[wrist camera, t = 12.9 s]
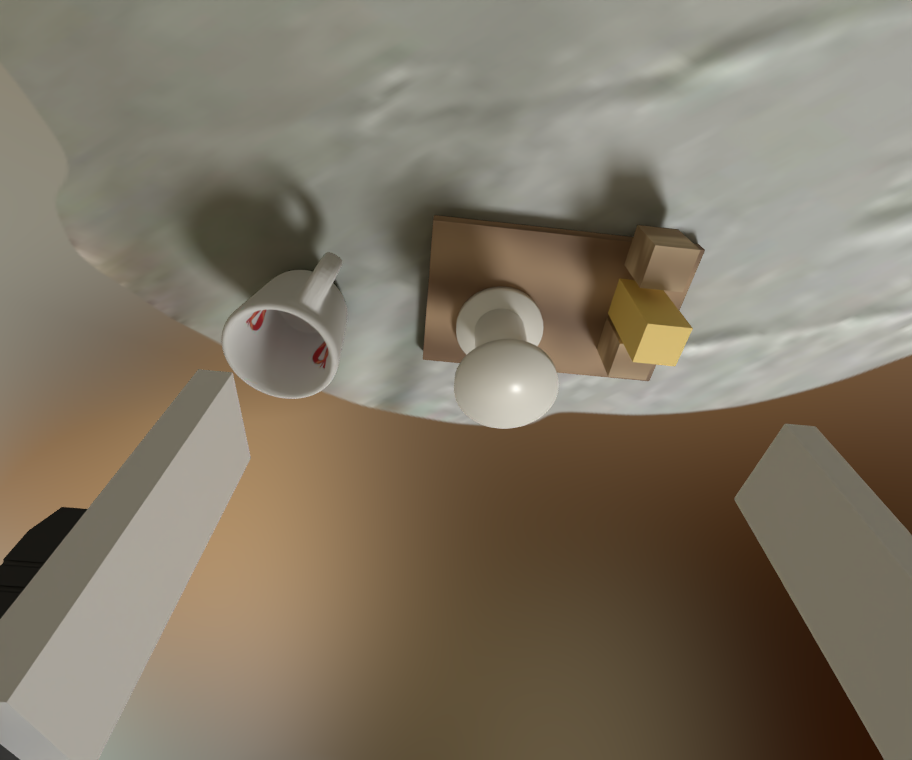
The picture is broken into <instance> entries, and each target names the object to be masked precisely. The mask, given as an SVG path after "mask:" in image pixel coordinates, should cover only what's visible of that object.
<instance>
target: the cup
mask: <svg viewBox="0 0 912 760" xmlns="http://www.w3.org/2000/svg"><path fill="white" fill-rule="evenodd" d="M341 266H342V260H341V259H340V257H338V256H337V255H335V254H333V253H330V252H327V253H325V254H324V256H323V257H322V258H321V260H320V261H319V263H318V264H317V266H316V267H315V269H314V271H313V272H312V271H308V270H292V271H287V272H284V273H282V274H280V275H278V276H276V277H275V278H273V279H272V280H271V281H269V282H268V283H267V284H266V285H265V286H264V287H262V288H261V289H260V290H259V291H258V292H256V293H255V294H254V295H253V296H252V297H251V298H249V299H248V300H247V301H246V302H245V303H243V304H242V305H241V306H240V307H239V308H238V309H236V310H235V311H234V312H233V313H232V314H231V315H230V317H229V318H228V319H227V321H226V323H225V325H224V328H223V331H222V348H223V352H224V355H225V357H226V360H227V362H228V363H229V365H230V367H231V368H232V369H233V371H234V372H235V373H236V374H237V375H238V376H239V377H240V378H241V379H242V380H243V381H244V382H246V383H247V384H248V385H250V386H251V387H253V388H255V389H256V390H259V391H261V392H263V393H266V394H268V395H271V396H275V397H280V398H288V399H292V398H293V399H295V398H303V397H308V396H311V395H314V394H316V393H318V392H320V391H321V390H323V389H324V388H325V387H327V386H328V385H329V384H330V382H331V381H332V380H333V378H334V376H335V374H336V372H337V369H338V365H339V360H340V355H341V350H342V345H343V340H344V335H345V330H346V325H347V306H346V303H345V300H344V297H343V295H342V294H341V292H340V290H339V289H338V288H337V287H336V286H335V284H334V283H333V282H334V280H335V278H336V276H337V274H338V272H339V270H340V268H341Z"/></svg>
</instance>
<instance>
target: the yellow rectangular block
mask: <svg viewBox="0 0 912 760" xmlns="http://www.w3.org/2000/svg"><path fill="white" fill-rule="evenodd" d="M608 315H609V316H610V318H611V320H612V322H613V324H614V326H615V328H616V330H617V332H618V334H619V336H620V338H621V340H622V342H623V344H624V346H625V348H626V350H627V352H628V354H629V356H630V358H631V360H632V362H637V363H647V364H657V365H667V366H676V364H677V362H678V359H679V357H680V355H681V353H682V351H683V349H684V346H685V344H686V342H687V340H688V338H689V335H690V333H691V331H692V329H693V328H692V327H691V325H690V324H689V323H688V322H687V320H686V319H685V318H684V316H683V315H682V314H681V312H680V311H679V310H678V309H677V307H676V306H675V305H674V303H673V302H672V301H671V299H670V298H669V297H668V295H667V294H666V293H665V292H664V290H656V289H646V288H640V287H639V286H638V284H637V283H636V281H635V280H629V279H620V278H619V281H618V284H617V287H616V290H615V293H614V296H613V299H612V302H611V305H610V308H609V311H608Z"/></svg>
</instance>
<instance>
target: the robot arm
mask: <svg viewBox="0 0 912 760" xmlns="http://www.w3.org/2000/svg"><path fill="white" fill-rule="evenodd" d="M249 460H250V452H249V448H248V443H247V439H246V434H245V429H244V424H243V419H242V415H241V410H240V405H239V401H238V396H237V391H236V386H235V382H234V377H233V373H231V372H220V371H210V370H198V371H197V372H196V373H195V375H194V376H193V377H192V378H191V379H190V381H189V382H188V383H187V385H186V386H185V387H184V388H183V390H182V391H181V392H180V393H179V395H178V396H177V397H176V398H175V400H174V401H173V402H172V403H171V405H170V406H169V407H168V408H167V410H166V411H165V412H164V414H163V415H162V416H161V417H160V419H159V420H158V421H157V422H156V424H155V425H154V426H153V427H152V429H151V430H150V431H149V432H148V434H147V435H146V436H145V438H144V439H143V440H142V441H141V443H140V444H139V445H138V446H137V448H136V449H135V450H134V452H133V453H132V454H131V455H130V456H129V458H128V459H127V460H126V462H125V463H124V464H123V465H122V467H121V468H120V469H119V470H118V471H117V473H116V474H115V475H114V477H113V478H112V479H111V480H110V482H109V483H108V484H107V485H106V487H105V488H104V489H103V490H102V492H101V493H100V494H99V495H98V497H97V498H96V499H95V500H94V502H93V503H92V504H91V506H90V507H89V508H88V509H80V508H66V507H61V508H60V509H59V510H57V511H56V512H54V513H53V514H52V515H50V516H49V517H48V518H46V519H44V520H43V521H42V522H40V523H39V524H37V525H36V526H34V527H33V528H32V529H30V530H29V531H28V532H27V533H26V534H25V535H24V536H23V538H22V539H21V540H20V541H19V542H18V543H17V545H16V546H15V547H14V548H13V549H12V550H11V551H10V552H9V554H8V555H7V556H6V557H5V558H4V562H3V564H2V565H0V760H98V759H99V757H100V755H101V753H102V751H103V749H104V747H105V745H106V743H107V741H108V739H109V737H110V735H111V733H112V731H113V729H114V727H115V725H116V723H117V721H118V719H119V717H120V715H121V713H122V711H123V709H124V707H125V705H126V703H127V701H128V699H129V697H130V696H131V694H132V692H133V690H134V688H135V686H136V684H137V682H138V680H139V678H140V676H141V673H142V672H143V670H144V668H145V666H146V664H147V662H148V660H149V658H150V656H151V654H152V652H153V650H154V648H155V646H156V644H157V642H158V640H159V638H160V636H161V634H162V632H163V630H164V628H165V626H166V624H167V622H168V620H169V618H170V616H171V614H172V612H173V611H174V609H175V606H176V605H177V603H178V600H179V599H180V597H181V595H182V593H183V591H184V589H185V587H186V585H187V583H188V581H189V579H190V577H191V575H192V573H193V571H194V569H195V567H196V565H197V563H198V561H199V559H200V557H201V555H202V553H203V551H204V549H205V547H206V545H207V543H208V541H209V539H210V537H211V535H212V533H213V531H214V529H215V527H216V525H217V523H218V521H219V520H220V518H221V515H222V514H223V512H224V510H225V508H226V506H227V504H228V502H229V500H230V498H231V496H232V494H233V492H234V490H235V488H236V486H237V484H238V482H239V480H240V478H241V476H242V474H243V472H244V470H245V468H246V466H247V464H248V462H249ZM735 501H736V503H737V505H738V506H739V508H740V510H741V511H742V513H743V515H744V517H745V518H746V520H747V522H748V524H749V525H750V527H751V529H752V530H753V532H754V534H755V536H756V538H757V539H758V541H759V543H760V545H761V546H762V548H763V550H764V551H765V553H766V555H767V557H768V558H769V560H770V562H771V564H772V565H773V567H774V569H775V570H776V572H777V574H778V576H779V577H780V579H781V581H782V583H783V585H784V586H785V588H786V590H787V591H788V593H789V595H790V597H791V598H792V600H793V602H794V604H795V605H796V607H797V609H798V611H799V612H800V614H801V616H802V617H803V619H804V621H805V623H806V624H807V626H808V628H809V630H810V631H811V633H812V635H813V637H814V638H815V640H816V642H817V644H818V645H819V647H820V649H821V651H822V652H823V654H824V655H825V657H826V659H827V661H828V662H829V664H830V666H831V668H832V670H833V671H834V673H835V675H836V677H837V678H838V680H839V682H840V684H841V685H842V687H843V689H844V690H845V692H846V693H847V696H848V697H849V699H850V701H851V702H852V704H853V706H854V708H855V709H856V711H857V713H858V715H859V716H860V718H861V720H862V722H863V723H864V725H865V727H866V729H867V730H868V732H869V734H870V735H871V737H872V739H873V741H874V742H875V744H876V746H877V748H878V750H879V751H880V753H881V755H882V756H883V758H884V760H912V535H911V534H910V533H909V532H908V530H907V529H906V528H905V527H904V526H903V525H902V524H901V523H900V522H899V521H898V519H897V518H896V517H895V516H894V515H893V514H892V512H891V511H890V510H889V509H888V508H887V507H886V506H885V504H884V503H882V501H881V500H880V499H879V498H878V497H877V495H876V494H875V493H874V492H873V491H872V490H871V489H870V488H869V487H868V485H867V484H866V483H865V482H864V481H863V480H862V479H861V477H860V476H859V475H858V474H857V473H856V472H855V471H854V470H853V468H852V467H851V466H850V465H849V464H848V463H847V462H846V461H845V460H844V458H843V457H842V456H841V455H840V454H839V453H838V452H837V450H836V449H835V448H834V447H833V446H832V445H831V444H830V442H829V441H828V440H827V439H826V438H825V437H824V436H823V435H822V433H821V432H820V431H819V430H818V429H817V428H816V427H814V426H804V425H792V424H785V425H784V426H783V427H782V429H781V430H780V432H779V433H778V435H777V436H776V438H775V439H774V441H773V442H772V444H771V445H770V447H769V448H768V450H767V451H766V452H765V454H764V455H763V457H762V459H761V460H760V461H759V463H758V464H757V466H756V467H755V469H754V470H753V472H752V473H751V475H750V476H749V478H748V479H747V480H746V482H745V484H744V485H743V486H742V488H741V489H740V491H739V492H738V494H737V495H736V497H735Z"/></svg>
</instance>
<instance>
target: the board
mask: <svg viewBox="0 0 912 760" xmlns="http://www.w3.org/2000/svg"><path fill="white" fill-rule="evenodd" d="M704 251H705V250H704V249H703V248H702V247H701V246H700V245H699V244H693V243H692V242H691V241H690V240H689V239H688V238H687V237H686V236H685V235H684V234H683V233H681V232H680V231H679V230H678V229H669V228H660V227H651V226H642V225H637V228H636V231H635V234H634V237H628V236H619V235H610V234H601V233H592V232H583V231H574V230H565V229H556V228H547V227H538V226H529V225H520V224H511V223H502V222H492V221H483V220H474V219H465V218H456V217H447V216H438V215H434V219H433V231H432V244H431V258H430V271H429V284H428V297H427V310H426V324H425V337H424V350H423V360H433V361H444V362H454V363H460V362H461V361H462V360H463V358H464V357H465V356H466V354H465V353H464V351H463V350H462V349H461V347H460V345H459V343H458V340H457V335H456V322H457V317H458V314H459V311H460V309H461V308H462V306H463V305H464V303H465V302H466V301H467V300H468V299H469V298H470V297H472V296H473V295H474V294H476V293H478V292H480V291H482V290H484V289H487V288H492V287H510V288H514V289H518V290H520V291H522V292H524V293H525V294H527V295H528V296H530V297H531V298H532V299H533V300H534V301H535V303H536V304H537V306H538V308H539V310H540V313H541V316H542V320H543V335H542V338H541V341H540V343H539V345H538V346H537V347H539V348H541V349H542V350H543V351H544V352H545V353H546V354H547V355H548V356H549V357H550V358H551V360H552V361H553V363H554V366H555V369H556V372H559V373H569V374H580V375H590V376H601V377H611V378H621V379H632V380H642V381H649V380H650V378H651V376H652V373H653V371H654V369H655V366H656V364H647V363H637V362H632V360H631V358H630V356H629V354H628V352H627V350H626V348H625V346H624V344H623V342H622V340H621V338H620V336H619V334H618V332H617V330H616V328H615V326H614V324H613V322H612V320H611V318H610V316H609V315H608V311H609V308H610V305H611V302H612V299H613V296H614V293H615V290H616V287H617V284H618V281H619V278H620V279H629V280H635V281H636V283H637V284H638V286H639V287H640V288H646V289H656V290H664V292H665V293H666V294H667V295H668V297H669V298H670V299H671V301H672V302H673V303H674V305H675V306H676V307H677V309H678V310H680V308H681V305H682V303H683V301H684V298H685V296H686V294H687V291H688V289H689V286H690V284H691V282H692V279H693V277H694V275H695V272H696V270H697V268H698V265H699V263H700V261H701V258H702V256H703V254H704Z"/></svg>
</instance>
